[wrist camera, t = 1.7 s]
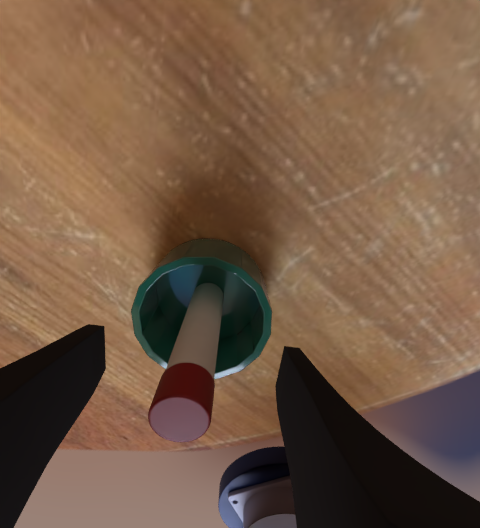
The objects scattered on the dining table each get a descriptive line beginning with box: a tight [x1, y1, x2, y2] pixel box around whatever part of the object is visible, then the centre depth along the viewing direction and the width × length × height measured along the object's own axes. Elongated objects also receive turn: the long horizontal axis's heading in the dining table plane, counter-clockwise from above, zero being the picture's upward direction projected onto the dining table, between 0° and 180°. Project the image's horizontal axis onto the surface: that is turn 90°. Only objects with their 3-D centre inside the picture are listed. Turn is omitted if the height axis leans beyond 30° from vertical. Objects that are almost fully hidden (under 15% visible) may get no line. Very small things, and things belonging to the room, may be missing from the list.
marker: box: [148, 283, 224, 442], centre depth 12 cm, size 2×2×8 cm
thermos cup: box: [131, 238, 272, 379], centre depth 15 cm, size 7×7×4 cm
